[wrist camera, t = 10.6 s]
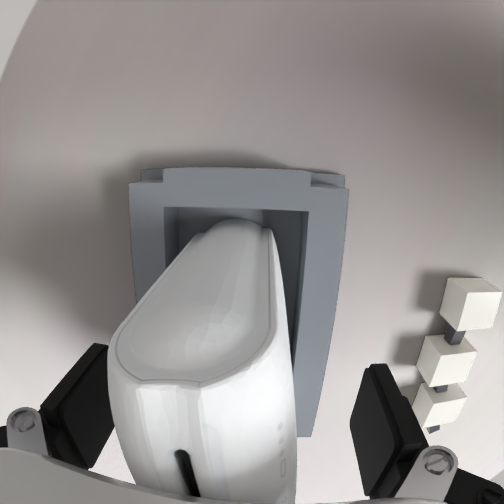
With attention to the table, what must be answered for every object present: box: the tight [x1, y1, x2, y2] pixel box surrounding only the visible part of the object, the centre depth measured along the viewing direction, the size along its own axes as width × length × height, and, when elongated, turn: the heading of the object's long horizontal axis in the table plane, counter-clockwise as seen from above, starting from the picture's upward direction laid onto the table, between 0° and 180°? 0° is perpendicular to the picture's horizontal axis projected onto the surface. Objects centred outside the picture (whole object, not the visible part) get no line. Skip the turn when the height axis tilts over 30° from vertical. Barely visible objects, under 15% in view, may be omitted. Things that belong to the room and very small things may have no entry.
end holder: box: [129, 167, 349, 437], centre depth 16 cm, size 10×15×3 cm, turn 178°
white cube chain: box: [412, 278, 503, 434], centre depth 17 cm, size 4×13×2 cm, turn 178°
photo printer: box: [107, 218, 297, 504], centre depth 11 cm, size 10×4×12 cm, turn 4°
